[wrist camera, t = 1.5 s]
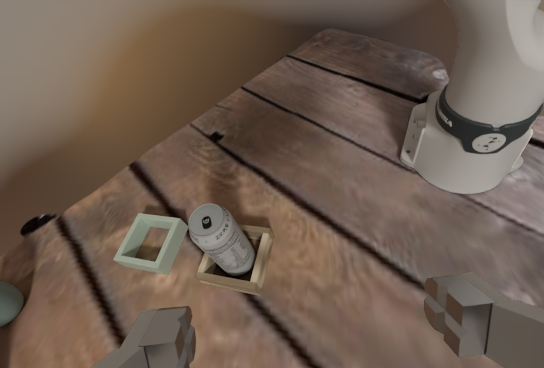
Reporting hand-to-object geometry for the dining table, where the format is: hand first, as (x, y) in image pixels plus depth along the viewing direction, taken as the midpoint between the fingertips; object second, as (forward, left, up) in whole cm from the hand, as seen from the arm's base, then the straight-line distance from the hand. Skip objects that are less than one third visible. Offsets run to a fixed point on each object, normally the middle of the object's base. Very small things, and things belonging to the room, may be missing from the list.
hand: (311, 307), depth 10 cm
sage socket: (-11, -34, -34) cm, 50 cm away
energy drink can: (-11, -17, -34) cm, 40 cm away
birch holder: (-11, -17, -34) cm, 40 cm away
